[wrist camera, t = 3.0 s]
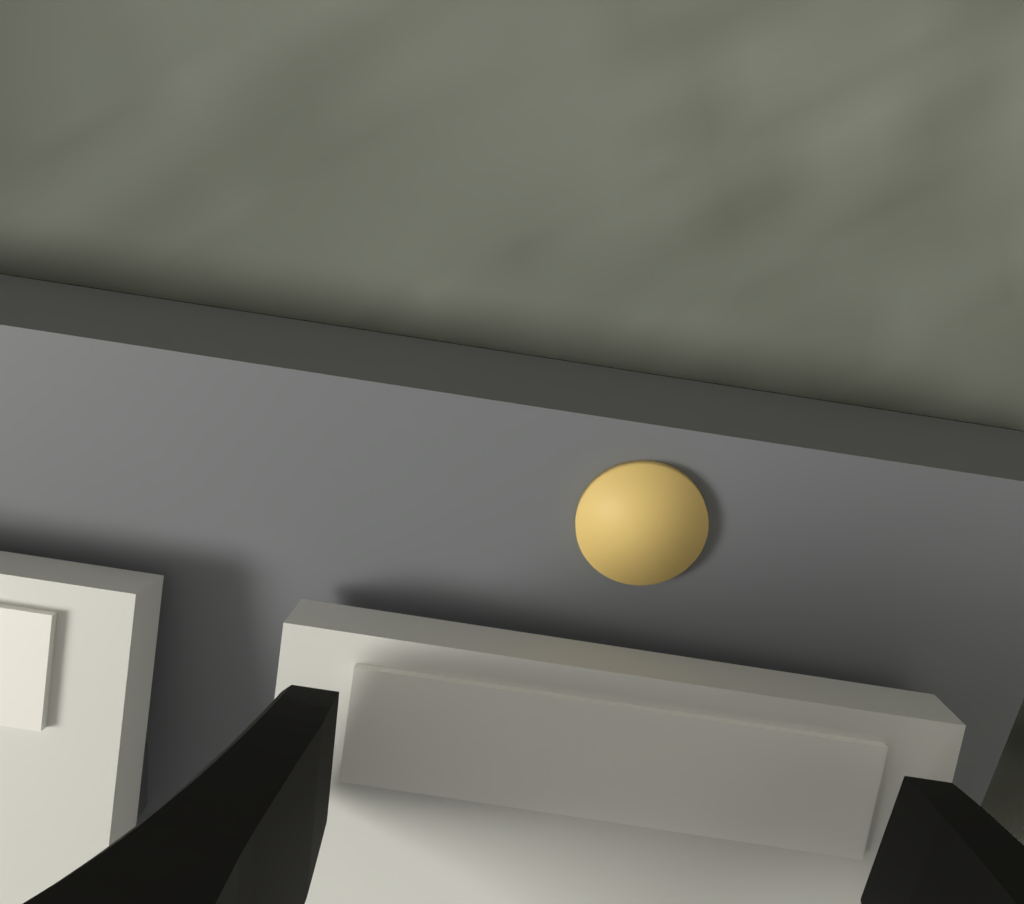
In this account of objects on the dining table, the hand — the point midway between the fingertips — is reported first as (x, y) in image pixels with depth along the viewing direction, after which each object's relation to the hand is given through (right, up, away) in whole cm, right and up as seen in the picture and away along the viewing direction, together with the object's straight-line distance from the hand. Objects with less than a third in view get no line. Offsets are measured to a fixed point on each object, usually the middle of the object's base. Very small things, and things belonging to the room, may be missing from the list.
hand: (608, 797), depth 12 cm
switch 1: (0, -2, +2) cm, 3 cm away
